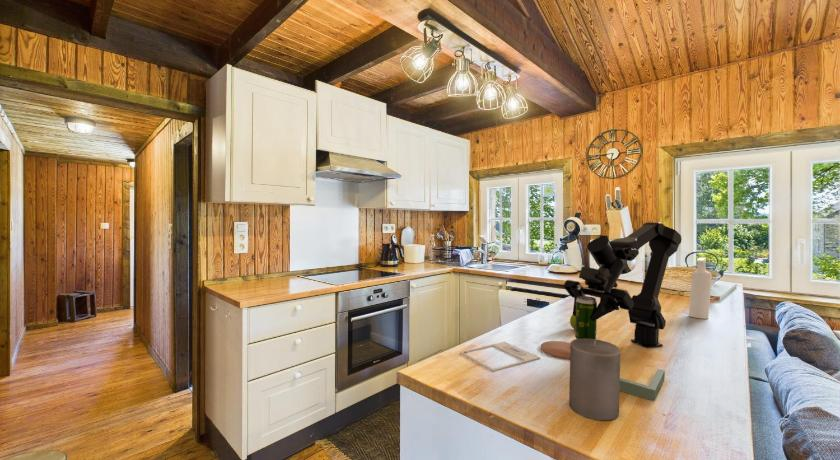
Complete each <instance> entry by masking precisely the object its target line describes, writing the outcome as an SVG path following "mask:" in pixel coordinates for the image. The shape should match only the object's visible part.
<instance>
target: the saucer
mask: <svg viewBox="0 0 840 460" xmlns="http://www.w3.org/2000/svg"><path fill="white" fill-rule="evenodd" d="M570 349H571V342H567V341H561V340H560V341H559V340H551V341H545V342H542V343H541V344H540V350H541V352H543V353H544V354H545V355H549V356H550V357H554V358H558V359H561V360H570Z"/></svg>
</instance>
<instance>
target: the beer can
mask: <svg viewBox="0 0 840 460" xmlns="http://www.w3.org/2000/svg"><path fill="white" fill-rule="evenodd" d="M597 306H598V302H597V297H594V296H589V295H586V296H578V297H577V300H576V324H575V329H574V330H575V331H574V333H575V335H574V337H575V339H596V340H597V324H598V323H597V320H598V319H597V320H595V321H592V320H591V318H592V315H593V313H594V311H595V310H596V308H597Z"/></svg>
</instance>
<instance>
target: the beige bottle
mask: <svg viewBox="0 0 840 460" xmlns="http://www.w3.org/2000/svg"><path fill="white" fill-rule="evenodd" d="M696 263H697V268H696V269H695V270H693V271H692V272H691V281H690V292H689V307H688V316H689V317H692V318H697V319H700V320H701V319H702V320H704V319H705V320H707V319H709V317H710V315H709V314H710V302H711V291H712V290H711V289H712V279H713V278H712V277H713V276H712V273H711V272H709V271H708V270H707V266H706V263H707V258H706V257H699V258H697V259H696Z"/></svg>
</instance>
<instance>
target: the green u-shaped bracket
mask: <svg viewBox="0 0 840 460" xmlns="http://www.w3.org/2000/svg"><path fill="white" fill-rule="evenodd" d="M656 369H657V370H656V371H655V373H654V375H653V377H652V378H651V381H650V382H649V384H648V385H647V384H644V383H639V382H636V381H633V380H629V379H626V378H622V377H620V392H623V393H626V394H629V395H632V396H636V397H639V398H642V399H646V400H649V401H652V402H656V399H657V397H658V396H659V393H660V391H661V389H662V386H663V384H664V382H665V375H666V374H665V373H666V371H665V370H664V369H659V368H656Z"/></svg>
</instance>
